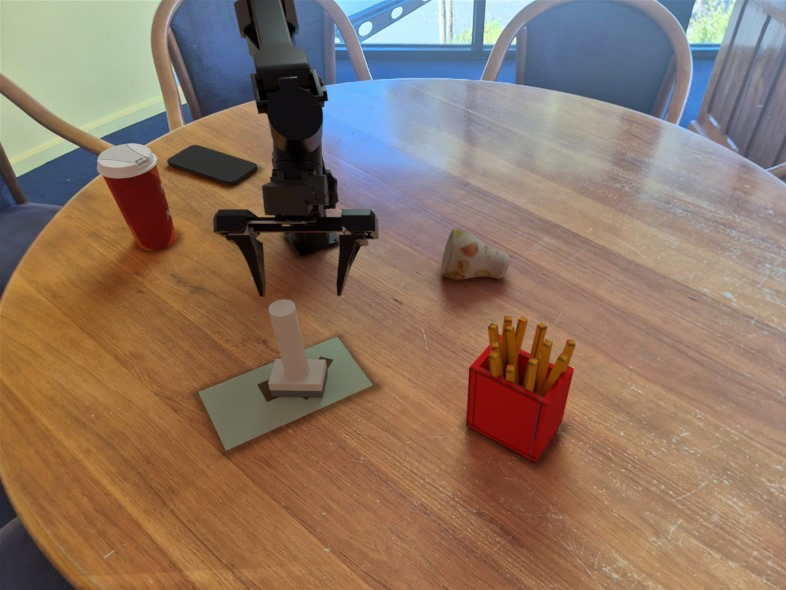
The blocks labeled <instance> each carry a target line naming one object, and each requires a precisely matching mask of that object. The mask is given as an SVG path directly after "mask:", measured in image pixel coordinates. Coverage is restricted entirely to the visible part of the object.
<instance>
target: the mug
mask: <svg viewBox="0 0 786 590" xmlns="http://www.w3.org/2000/svg"><path fill="white" fill-rule="evenodd" d="M509 266H510V257H509V255H508V254H507V253H506V252H505V251H501V250H499V249H495V248H492V247H490V246H489V245H487V243H485V242H483V241H482V240H480V239H479V238H478V237H476V236H475V235H473V234H472V233H470V232H469V231H466V230H465V229H457V228H456V229H452V230H451V231H450V233H449V236H448V238H447V241H446V244H445V247H444V251H443V255H442V259H441V267H440V275H441V276H443V277H444V278H447V279H451V280H456V281H457V280H467V279H473V278H479V277H487V278H493V279H497V280H498V279H502V278H504V277H505V276H506V275H507V273H508V270H509Z"/></svg>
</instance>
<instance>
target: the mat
mask: <svg viewBox="0 0 786 590" xmlns="http://www.w3.org/2000/svg"><path fill="white" fill-rule="evenodd" d="M305 352H306V356H307V359H317V360H326V365H327V371H328V375H327V380H326V385H325V390H324V395H323V397H322V398H321V397H272V394H271V391H270V388H269V385H268V382H269V379H270V376H271V372H272V369H273V365H274V362H275V361H272V362H269V363H267V364H265V365H262V366H260V367H257V368H255V369H252V370H250V371H247V372H245V373H242V374H240V375H237V376H235V377H232V378H230V379H227V380H225V381H222V382H219V383H217V384H215V385H212V386H210V387H207V388H204V389H202V390H199V391H198V396H199V397H200V399H201V401H202V403H203V405H204V407H205V410H206V412H207V413H208V416H209V418H210V420H211V423H212V425H213V427H214V428H215V430H216V433H217V435H218V437H219V439H220V442H221V443H222V445H223V448H224V450H225V451H229V450H231V449H233V448H236V447H238V446H240V445H243V444H244V443H246V442H249V441H250V440H253V439H255V438H258V437H261V436H262V435H265V434H266V433H269V432H271V431H273V430H275V429H278V428H280V427H282V426H284V425H287V424H289V423H291V422H293V421H295V420H298V419H300V418H303V417H304V416H307V415H309V414H311V413H314V412H316V411H318V410H320V409H323V408H325V407H327V406H329V405H331V404H335V403H336V402H338V401H341V400H343V399H345V398H347V397H350V396H352V395H355V394H356V393H359V392H361V391H363V390H366V389H368V388H370V387H372V386H373V384H372V382H371V381H370V379H369V378H368V376H367V375H366V374H365V372H364V371H363V370H362V369H361V367H360V365H359V364H358V363H357V362H356V360H355V359H354V357H353V356H352V354H351V353H350V352H349V350H348V349H347V348H346V346H345V345H344V344H343V342H342V341H341V339H340V338H339V337H338V336H334V337H333V338H330V339H327V340H325V341H323V342H320V343H317V344H315V345H312V346H310V347H308V348H305Z"/></svg>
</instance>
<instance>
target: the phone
mask: <svg viewBox="0 0 786 590" xmlns="http://www.w3.org/2000/svg"><path fill="white" fill-rule="evenodd" d="M166 163H167V165H168V166H169V167H172V168H175V169H178V170H181V171H184V172H187V173H190V174H193V175H197V176H199V177H202V178H204V179H209V180H211V181H215V182H217V183H220V184H223V185H227V186H235V185H238V183H241V182H242V181H243V180H245V179H246V178H247V177H249V176H250V175H252V174H254V173H255V172H256V171H258V164H257V163H256V162H253V161H250V160H247V159H244V158H241V157H238V156H234V155H231V154H227V153H226V152H225V153H224V152H222V151H218V150H215V149H212V148H208V147H205V146H202V145H199V144H191V145H189V146H187V147H185V148H184V149H182V150H180V151H179V152H177V153H175V154H174V155H172V156H170V157H168V159H167V160H166Z"/></svg>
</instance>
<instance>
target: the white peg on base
mask: <svg viewBox="0 0 786 590" xmlns="http://www.w3.org/2000/svg"><path fill="white" fill-rule="evenodd" d="M268 314H269V319H270V322H271V326H272V330H273V333H274V337H275V340H276V345H277V348H278V353H279V355H280V358H275V359H274V361H273V362H274V365H273V369H272V372H271V376H270V379H269V382H268V385H269V388H270V391H271V394H272V397H321V398H322V397H323V395H324V390H325V385H326V380H327V375H328V371H327V365H326V360H317V359H307V356H306V352H305V349H306V347H305V342H304V338H303V335H302V329H301V325H300V321H299V315H298V312H297V307H296V304H295V303H294V301H292V300H291V299H285V298H283V299H277V300H275V301H272V303H271V304H270V305H269V306H268Z"/></svg>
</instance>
